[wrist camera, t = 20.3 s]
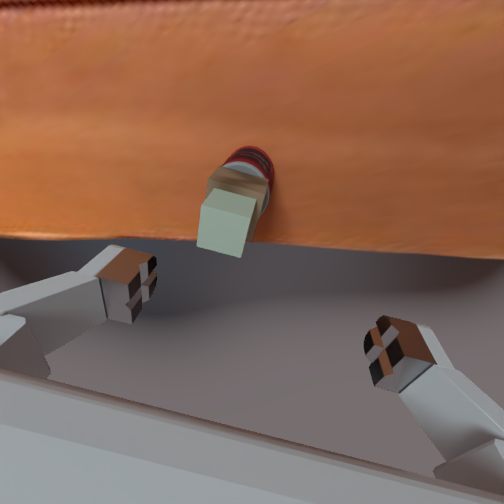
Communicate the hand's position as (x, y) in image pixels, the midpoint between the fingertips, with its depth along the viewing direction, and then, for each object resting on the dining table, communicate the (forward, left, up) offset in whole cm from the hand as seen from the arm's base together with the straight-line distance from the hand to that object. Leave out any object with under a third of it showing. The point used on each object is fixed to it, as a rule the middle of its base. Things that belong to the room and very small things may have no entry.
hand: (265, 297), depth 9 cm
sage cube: (+4, +6, -18) cm, 19 cm away
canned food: (+4, +6, -34) cm, 34 cm away
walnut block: (+4, +6, -23) cm, 24 cm away
